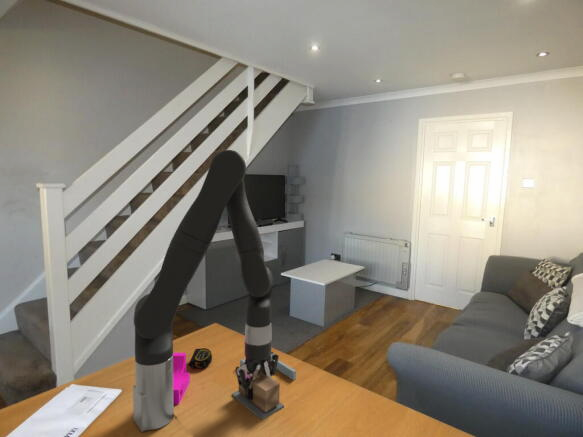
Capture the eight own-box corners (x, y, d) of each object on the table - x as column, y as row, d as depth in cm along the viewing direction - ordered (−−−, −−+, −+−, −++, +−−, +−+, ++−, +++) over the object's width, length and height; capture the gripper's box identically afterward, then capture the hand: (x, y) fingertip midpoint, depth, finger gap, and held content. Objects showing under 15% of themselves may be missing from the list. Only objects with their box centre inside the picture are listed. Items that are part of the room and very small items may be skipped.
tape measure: (195, 354, 120) (195, 346, 119) (214, 356, 120) (214, 348, 118) (188, 369, 114) (187, 360, 113) (208, 371, 113) (207, 362, 112)
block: (265, 412, 92) (265, 391, 91) (238, 392, 100) (238, 372, 99) (279, 403, 95) (279, 383, 95) (252, 385, 104) (252, 366, 103)
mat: (261, 420, 90) (261, 418, 90) (231, 395, 100) (231, 393, 100) (284, 406, 96) (284, 405, 96) (253, 384, 106) (253, 383, 106)
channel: (272, 391, 103) (273, 382, 102) (240, 368, 115) (240, 359, 115) (295, 379, 109) (296, 370, 109) (262, 358, 121) (262, 350, 121)
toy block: (178, 405, 96) (178, 379, 95) (156, 404, 96) (156, 379, 95) (193, 375, 111) (193, 352, 110) (174, 374, 111) (174, 352, 110)
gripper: (269, 326, 104) (268, 379, 106) (229, 340, 94) (228, 399, 96) (286, 335, 98) (284, 391, 100) (245, 351, 89) (244, 412, 90)
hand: (257, 394), depth 98 cm, fingers closed on block, 5 cm apart
